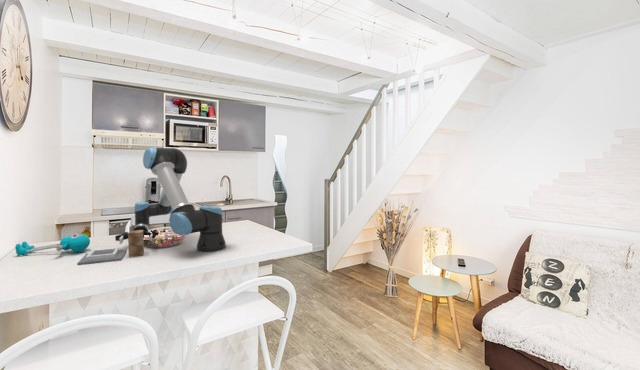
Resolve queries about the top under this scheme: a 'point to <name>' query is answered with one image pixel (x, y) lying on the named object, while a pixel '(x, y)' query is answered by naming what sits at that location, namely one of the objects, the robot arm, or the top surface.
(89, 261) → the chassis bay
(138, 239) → the brown wooden block
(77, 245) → the toy
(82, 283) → the top surface
